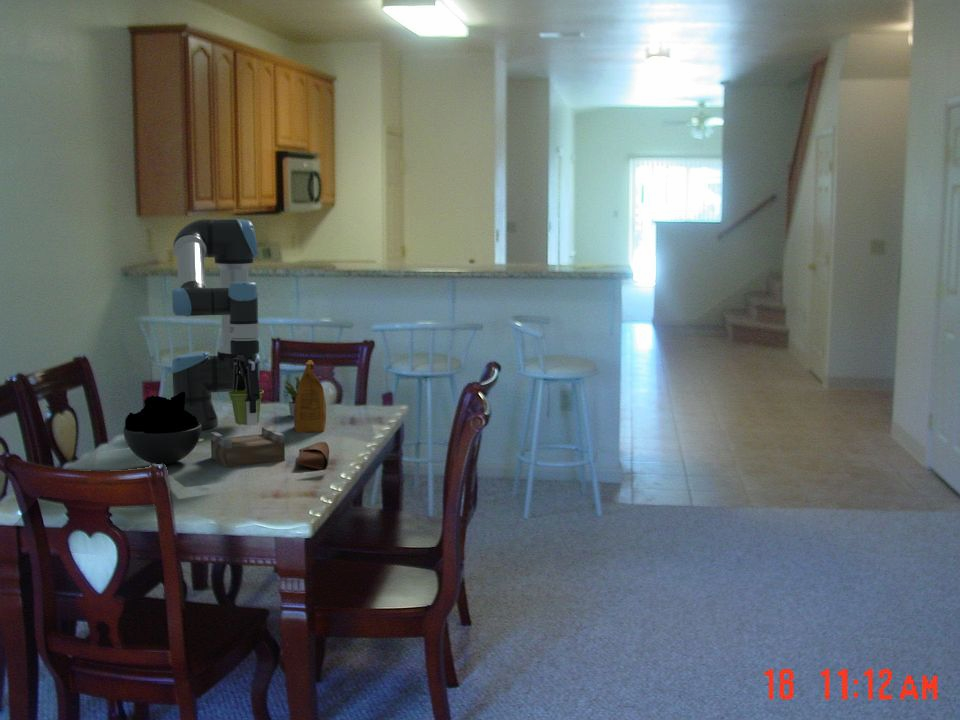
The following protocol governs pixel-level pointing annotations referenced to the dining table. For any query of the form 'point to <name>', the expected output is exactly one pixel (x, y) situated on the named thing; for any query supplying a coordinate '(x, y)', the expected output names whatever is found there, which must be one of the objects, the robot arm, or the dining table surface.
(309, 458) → the sunglasses case
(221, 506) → the dining table surface
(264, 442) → the raised riser
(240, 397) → the plant pot
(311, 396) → the brown tall tapered bottle
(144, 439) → the coal bowl
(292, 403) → the house plant
